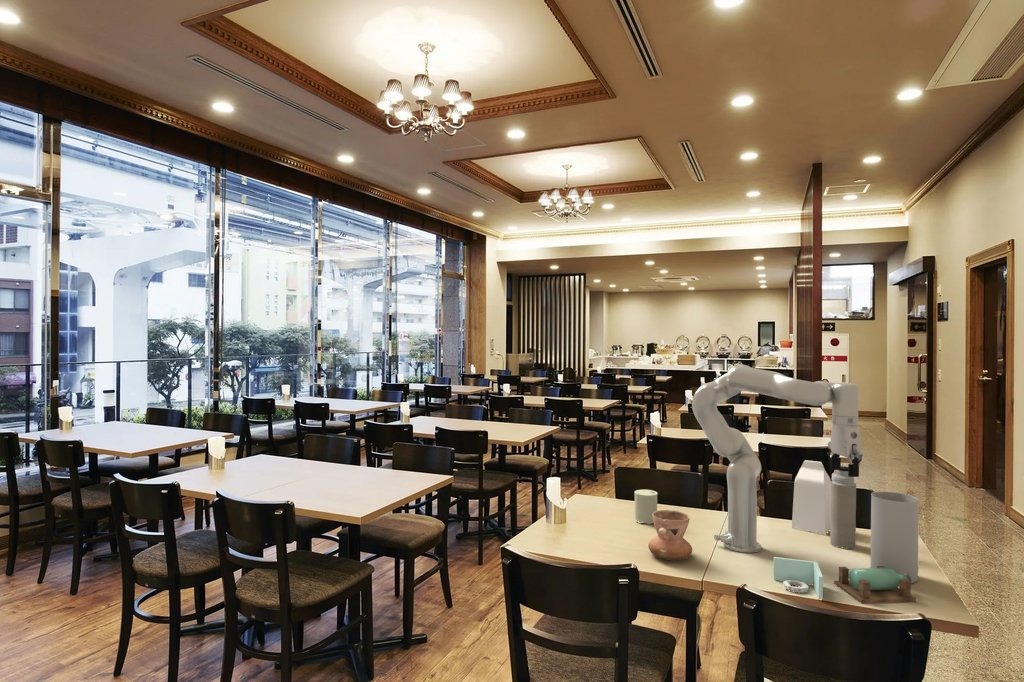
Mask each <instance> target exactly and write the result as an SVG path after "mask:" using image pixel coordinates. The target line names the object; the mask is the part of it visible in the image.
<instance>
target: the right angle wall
mask: <svg viewBox="0 0 1024 682" xmlns="http://www.w3.org/2000/svg"><path fill="white" fill-rule="evenodd" d="M819 566H820V565H819V563H818V562H817V561H813V560H803V559H796V558H789V557H787V558H786V557H779V556H778V557H777V556H773V581H776V580H781V581H780V582H782V586H783V587H782V588H785V589H784V590H786V589H788V590H790V591H794V592H796V593H797V592H799V593H798V594H804V593H807V592H808V591H809V585H807V584H813V585H814V586H813V585H812V586H813V588H815V589H814V591H816V592H815V594H816V593H817V595H816V597H817V596H818V598H819V599H823V596H824V595H823V591H824V584H823V583H824V576H823V574H822V571H821V569H820V567H819ZM790 585H792V586H790ZM793 585H795V586H793ZM797 586H800V587H797ZM788 590H787V591H788ZM790 591H789V592H790ZM800 592H801V593H800ZM818 598H817V599H818Z"/></svg>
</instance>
